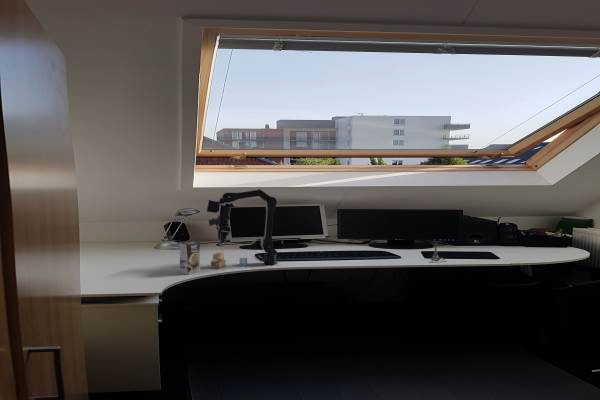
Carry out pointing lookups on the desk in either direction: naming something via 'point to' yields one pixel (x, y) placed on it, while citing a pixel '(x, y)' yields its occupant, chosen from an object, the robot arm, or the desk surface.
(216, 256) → the top block
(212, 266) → the base block
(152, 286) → the desk surface
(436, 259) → the eiffel tower figurine
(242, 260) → the cylinder
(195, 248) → the coffee box
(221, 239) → the robot arm
